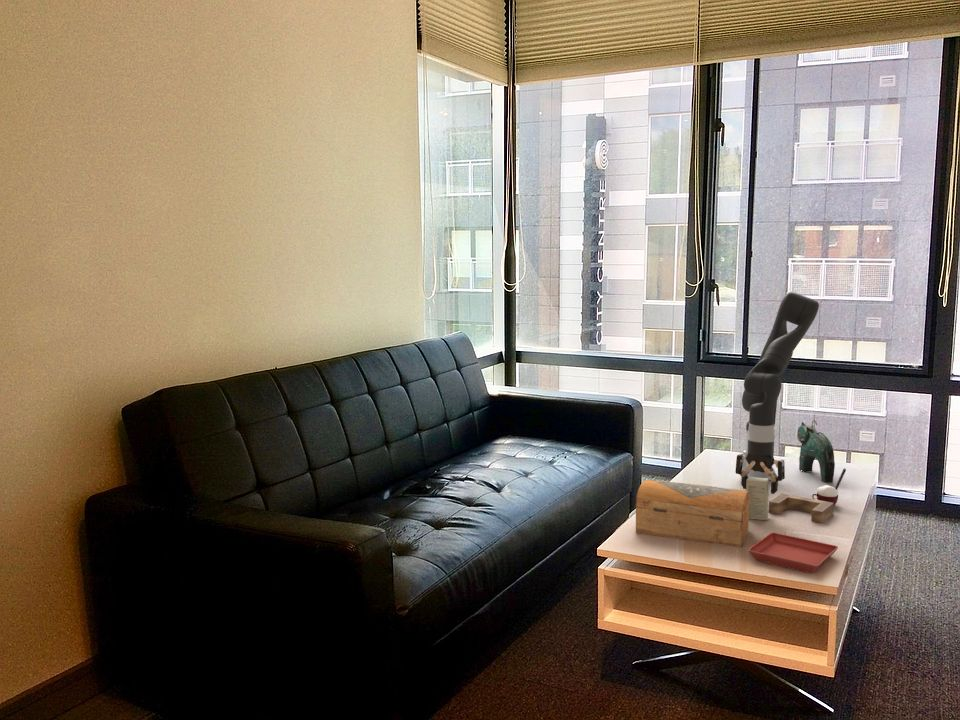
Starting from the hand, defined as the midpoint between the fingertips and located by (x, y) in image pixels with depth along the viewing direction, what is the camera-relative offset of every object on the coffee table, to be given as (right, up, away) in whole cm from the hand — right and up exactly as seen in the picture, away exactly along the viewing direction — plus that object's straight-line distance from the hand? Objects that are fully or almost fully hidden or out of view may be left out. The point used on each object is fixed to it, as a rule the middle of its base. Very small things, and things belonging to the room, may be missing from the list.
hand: (759, 490), depth 247 cm
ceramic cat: (+36, -2, +46) cm, 59 cm away
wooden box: (-23, -11, -10) cm, 27 cm away
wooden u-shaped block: (+15, -8, +6) cm, 18 cm away
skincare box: (0, -9, +1) cm, 9 cm away
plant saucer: (-2, -14, -31) cm, 34 cm away
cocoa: (+26, -7, +13) cm, 30 cm away
